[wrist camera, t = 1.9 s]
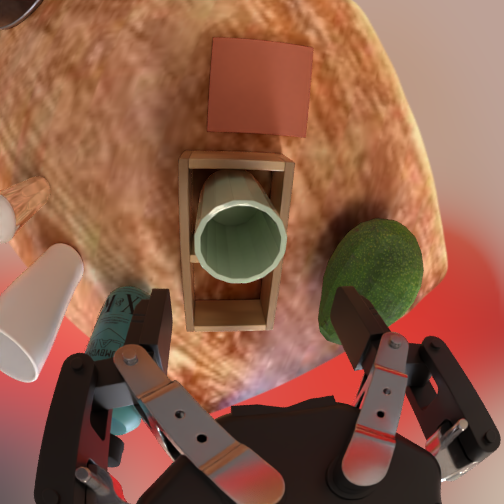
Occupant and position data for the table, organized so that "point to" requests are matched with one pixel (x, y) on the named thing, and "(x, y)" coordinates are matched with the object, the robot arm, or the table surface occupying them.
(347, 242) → the fruit
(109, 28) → the table surface
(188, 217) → the brown wooden shelf
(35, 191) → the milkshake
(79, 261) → the drinking glass
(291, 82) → the coaster mat
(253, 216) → the cup
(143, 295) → the beverage bottle
